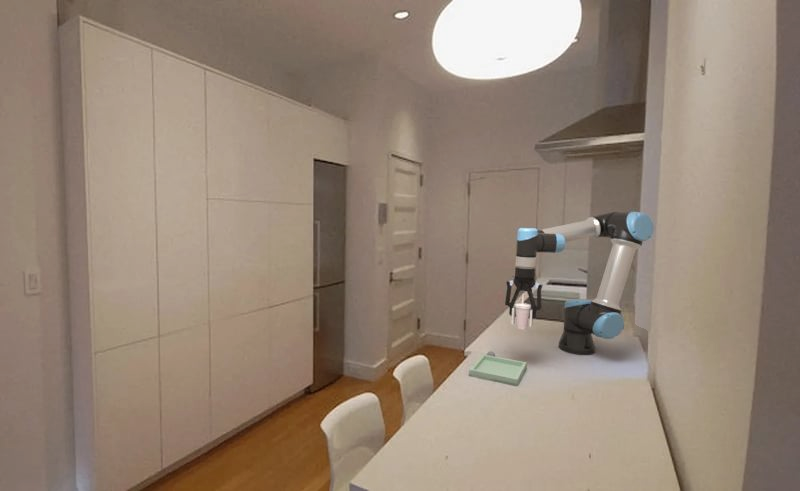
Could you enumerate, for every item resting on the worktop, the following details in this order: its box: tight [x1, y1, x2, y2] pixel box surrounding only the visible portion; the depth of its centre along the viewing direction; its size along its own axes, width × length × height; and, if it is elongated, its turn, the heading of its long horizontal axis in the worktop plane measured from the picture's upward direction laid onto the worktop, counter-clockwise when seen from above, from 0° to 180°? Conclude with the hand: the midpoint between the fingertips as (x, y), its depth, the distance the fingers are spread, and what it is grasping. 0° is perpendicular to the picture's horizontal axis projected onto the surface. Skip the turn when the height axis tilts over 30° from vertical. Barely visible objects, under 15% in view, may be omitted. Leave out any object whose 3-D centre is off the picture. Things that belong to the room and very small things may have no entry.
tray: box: [468, 354, 528, 387], centre depth 151 cm, size 18×18×2 cm
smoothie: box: [514, 293, 532, 331], centre depth 153 cm, size 6×6×14 cm
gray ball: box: [486, 350, 496, 357], centre depth 163 cm, size 4×4×4 cm
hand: (521, 324), depth 153 cm, fingers closed on smoothie, 6 cm apart
